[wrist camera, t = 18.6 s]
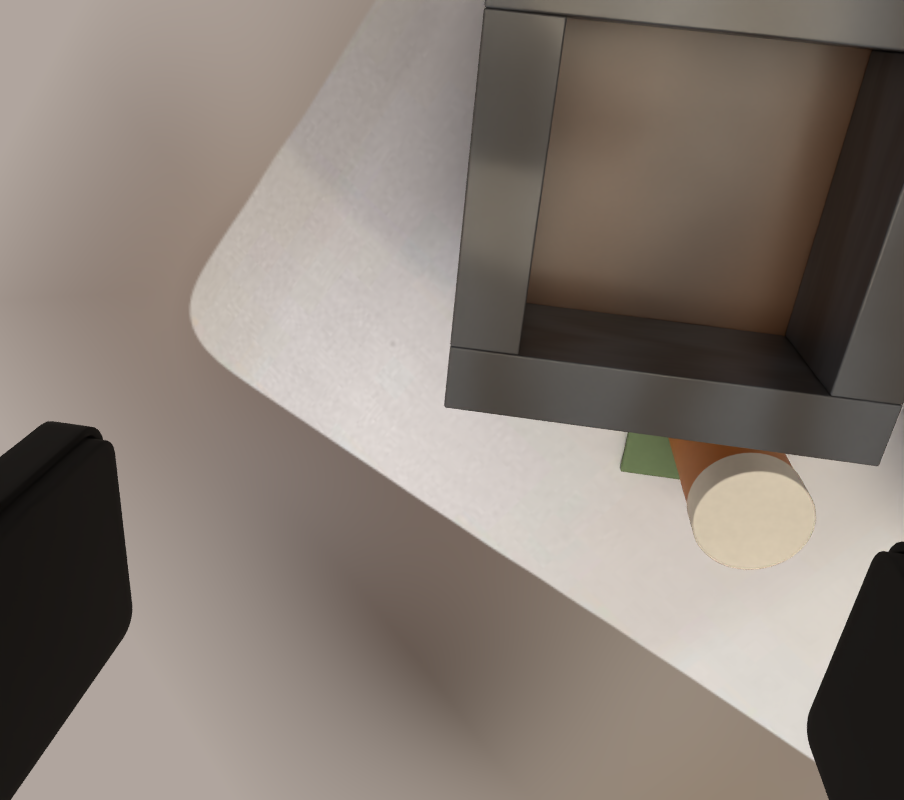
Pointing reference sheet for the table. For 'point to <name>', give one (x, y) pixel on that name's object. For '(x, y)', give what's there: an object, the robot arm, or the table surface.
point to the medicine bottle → (743, 503)
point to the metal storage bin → (688, 222)
